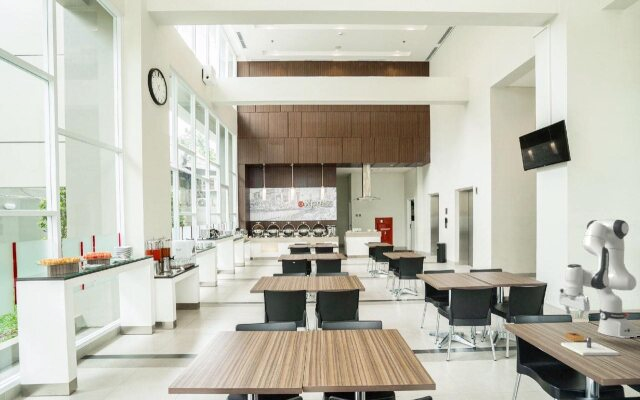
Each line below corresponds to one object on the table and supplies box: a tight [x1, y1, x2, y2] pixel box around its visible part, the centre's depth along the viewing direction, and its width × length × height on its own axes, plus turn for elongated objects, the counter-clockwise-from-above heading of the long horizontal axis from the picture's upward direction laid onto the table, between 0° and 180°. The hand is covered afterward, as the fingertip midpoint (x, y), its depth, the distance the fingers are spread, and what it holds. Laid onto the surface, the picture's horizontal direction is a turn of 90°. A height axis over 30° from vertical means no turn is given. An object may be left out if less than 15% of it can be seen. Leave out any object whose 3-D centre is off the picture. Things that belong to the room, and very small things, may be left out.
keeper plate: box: [560, 337, 620, 357], centre depth 208 cm, size 20×16×6 cm
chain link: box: [565, 332, 585, 342], centre depth 226 cm, size 6×6×3 cm
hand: (574, 315), depth 226 cm, fingers open, 8 cm apart
